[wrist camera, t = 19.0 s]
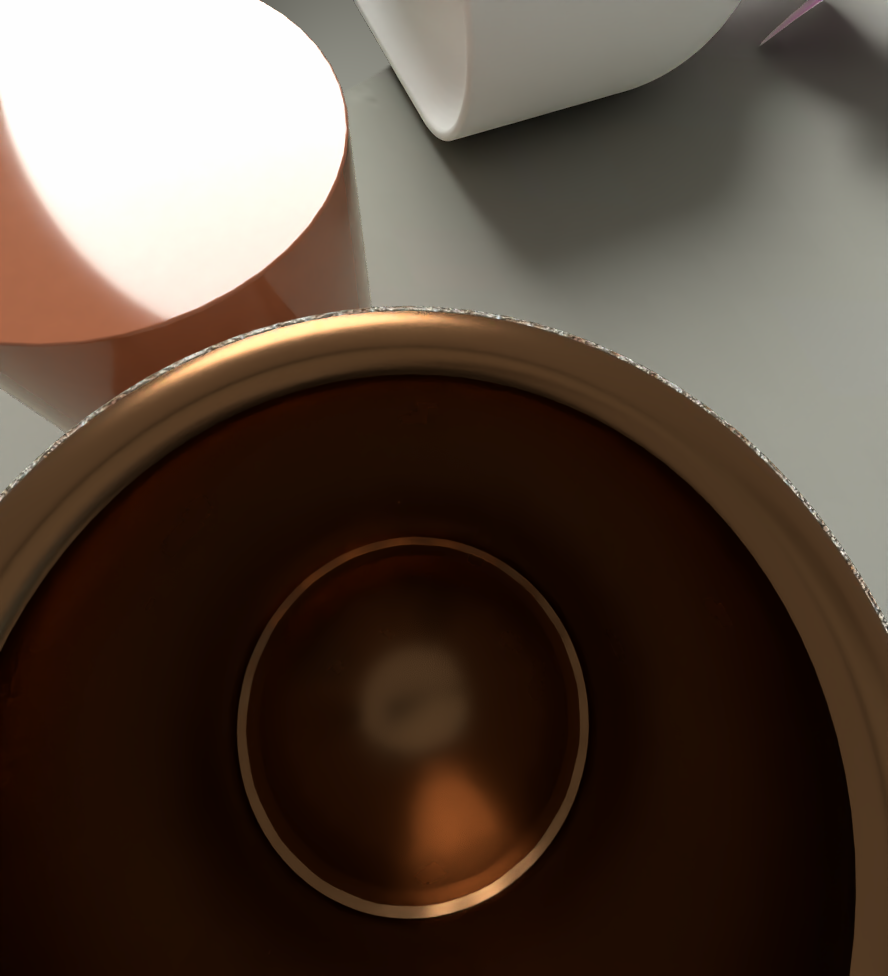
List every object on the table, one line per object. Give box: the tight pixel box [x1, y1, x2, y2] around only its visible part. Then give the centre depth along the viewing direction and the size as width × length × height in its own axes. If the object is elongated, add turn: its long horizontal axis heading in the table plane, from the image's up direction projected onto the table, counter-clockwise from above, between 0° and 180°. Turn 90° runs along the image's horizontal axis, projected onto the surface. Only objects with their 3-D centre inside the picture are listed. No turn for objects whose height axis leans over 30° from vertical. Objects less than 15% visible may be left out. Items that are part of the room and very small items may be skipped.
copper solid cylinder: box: [0, 0, 372, 433], centre depth 15 cm, size 10×10×10 cm
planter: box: [0, 306, 888, 976], centre depth 10 cm, size 11×11×10 cm
